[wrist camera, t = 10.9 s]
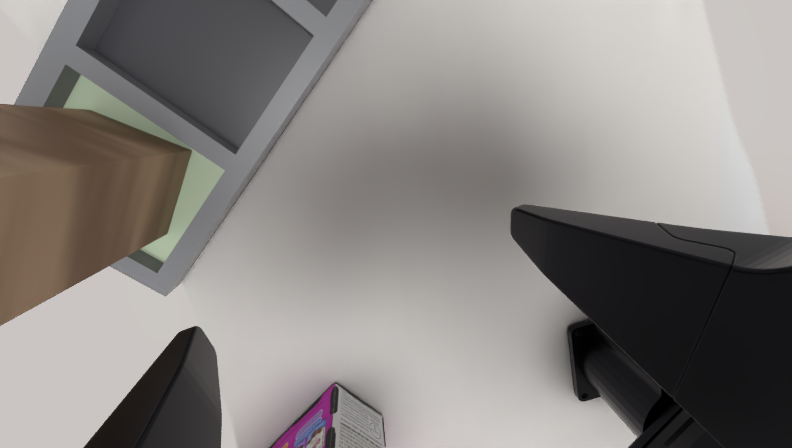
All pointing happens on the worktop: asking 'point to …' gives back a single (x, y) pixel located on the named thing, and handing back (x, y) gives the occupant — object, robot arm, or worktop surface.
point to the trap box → (192, 93)
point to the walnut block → (77, 198)
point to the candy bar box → (336, 424)
